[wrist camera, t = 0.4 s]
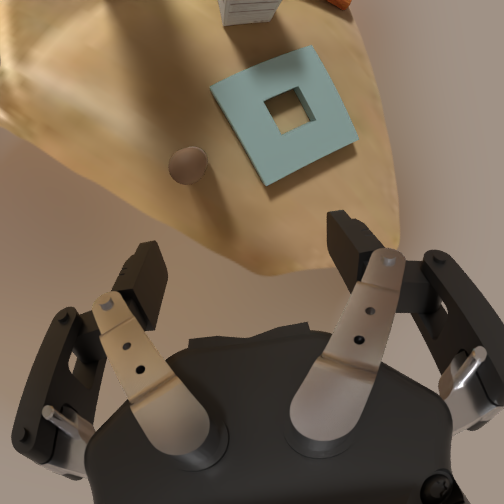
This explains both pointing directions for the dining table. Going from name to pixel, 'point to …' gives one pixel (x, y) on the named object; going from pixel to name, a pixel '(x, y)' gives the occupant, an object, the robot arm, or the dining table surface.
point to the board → (263, 126)
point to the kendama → (340, 3)
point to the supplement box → (247, 11)
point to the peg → (188, 165)
